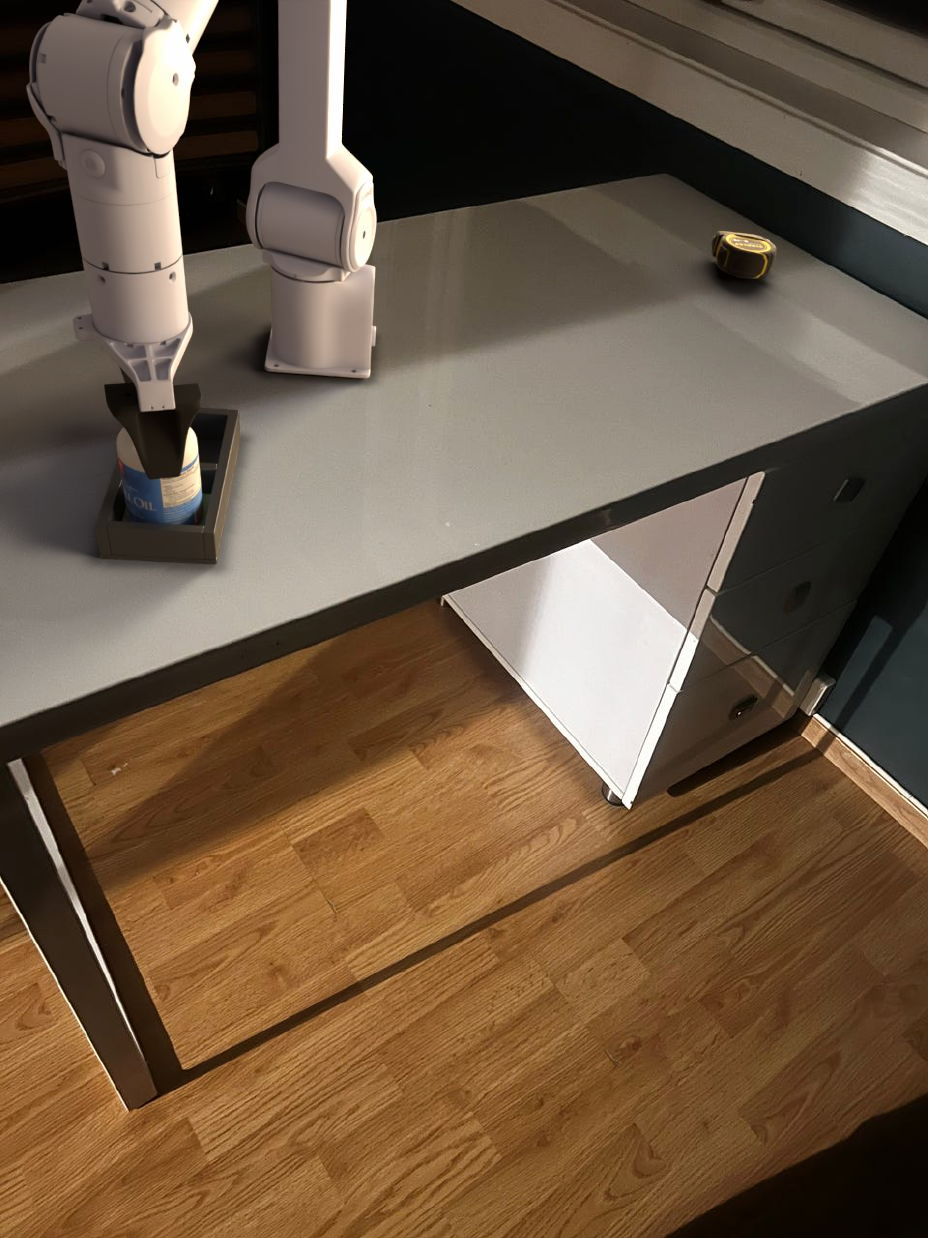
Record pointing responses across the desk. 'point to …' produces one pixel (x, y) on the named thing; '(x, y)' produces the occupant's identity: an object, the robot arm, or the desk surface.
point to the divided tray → (171, 540)
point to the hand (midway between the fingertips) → (157, 441)
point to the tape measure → (743, 254)
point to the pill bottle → (161, 487)
